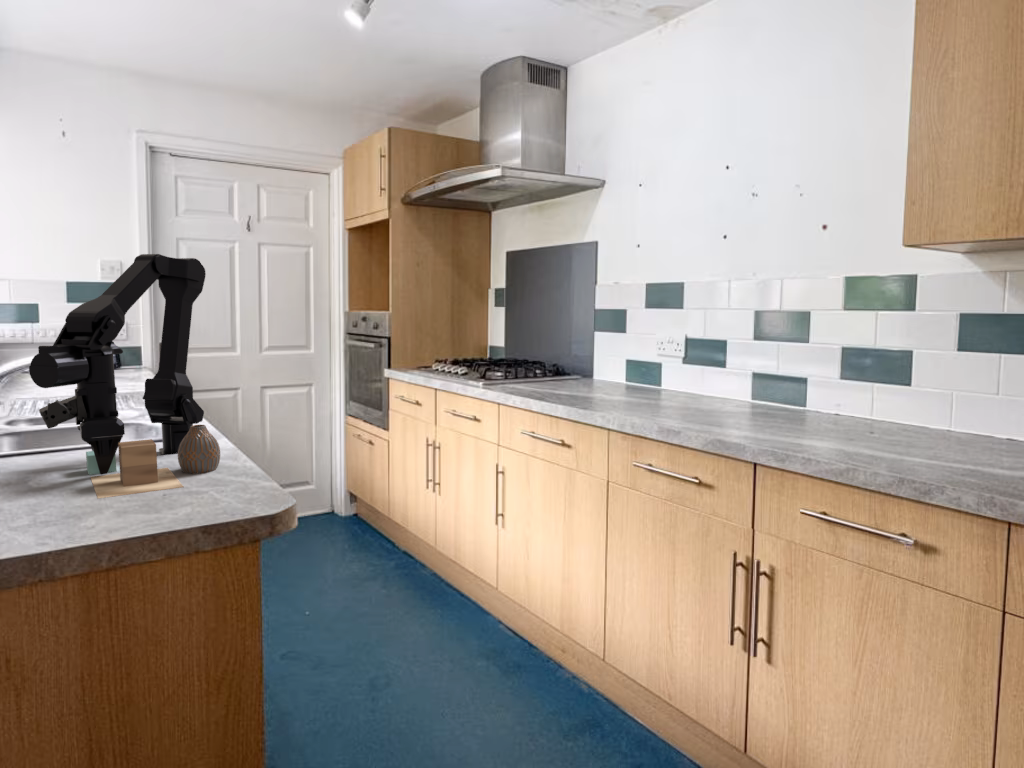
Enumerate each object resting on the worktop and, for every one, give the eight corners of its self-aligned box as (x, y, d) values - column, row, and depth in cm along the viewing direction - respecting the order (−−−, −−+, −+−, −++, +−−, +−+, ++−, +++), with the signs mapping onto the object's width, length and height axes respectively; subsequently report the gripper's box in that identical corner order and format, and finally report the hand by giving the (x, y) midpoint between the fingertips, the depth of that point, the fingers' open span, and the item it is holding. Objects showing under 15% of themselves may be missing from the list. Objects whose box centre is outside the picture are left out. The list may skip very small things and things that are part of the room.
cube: (87, 474, 125) (85, 451, 124) (114, 471, 127) (113, 448, 127) (89, 479, 121) (87, 456, 121) (116, 476, 124) (115, 453, 123)
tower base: (120, 480, 118) (119, 461, 117) (153, 476, 120) (152, 457, 120) (123, 486, 113) (122, 467, 113) (158, 482, 116) (157, 463, 116)
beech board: (90, 481, 120) (90, 476, 120) (168, 471, 127) (167, 467, 127) (98, 503, 107) (97, 498, 107) (184, 491, 114) (183, 486, 113)
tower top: (119, 461, 117) (118, 442, 117) (152, 457, 120) (151, 439, 120) (122, 467, 113) (121, 447, 113) (157, 463, 116) (155, 444, 116)
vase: (170, 476, 124) (167, 427, 123) (203, 468, 130) (201, 421, 129) (196, 480, 121) (194, 430, 120) (229, 472, 127) (227, 424, 126)
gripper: (39, 379, 126) (46, 465, 127) (41, 390, 110) (48, 487, 112) (111, 375, 132) (116, 457, 134) (122, 385, 116) (127, 477, 118)
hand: (101, 469), depth 124 cm, fingers open, 8 cm apart
